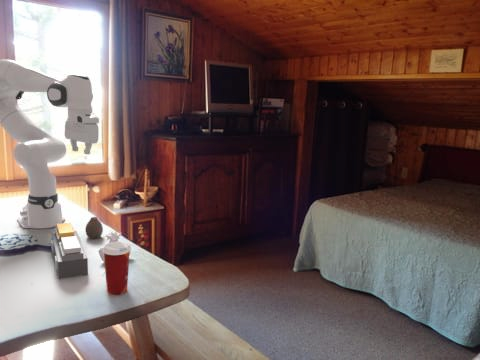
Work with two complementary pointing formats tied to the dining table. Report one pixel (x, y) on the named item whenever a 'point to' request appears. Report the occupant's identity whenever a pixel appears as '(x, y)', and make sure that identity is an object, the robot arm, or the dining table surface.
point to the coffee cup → (116, 267)
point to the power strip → (70, 265)
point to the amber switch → (65, 230)
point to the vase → (94, 228)
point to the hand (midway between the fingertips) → (81, 152)
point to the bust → (113, 238)
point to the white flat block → (70, 244)
